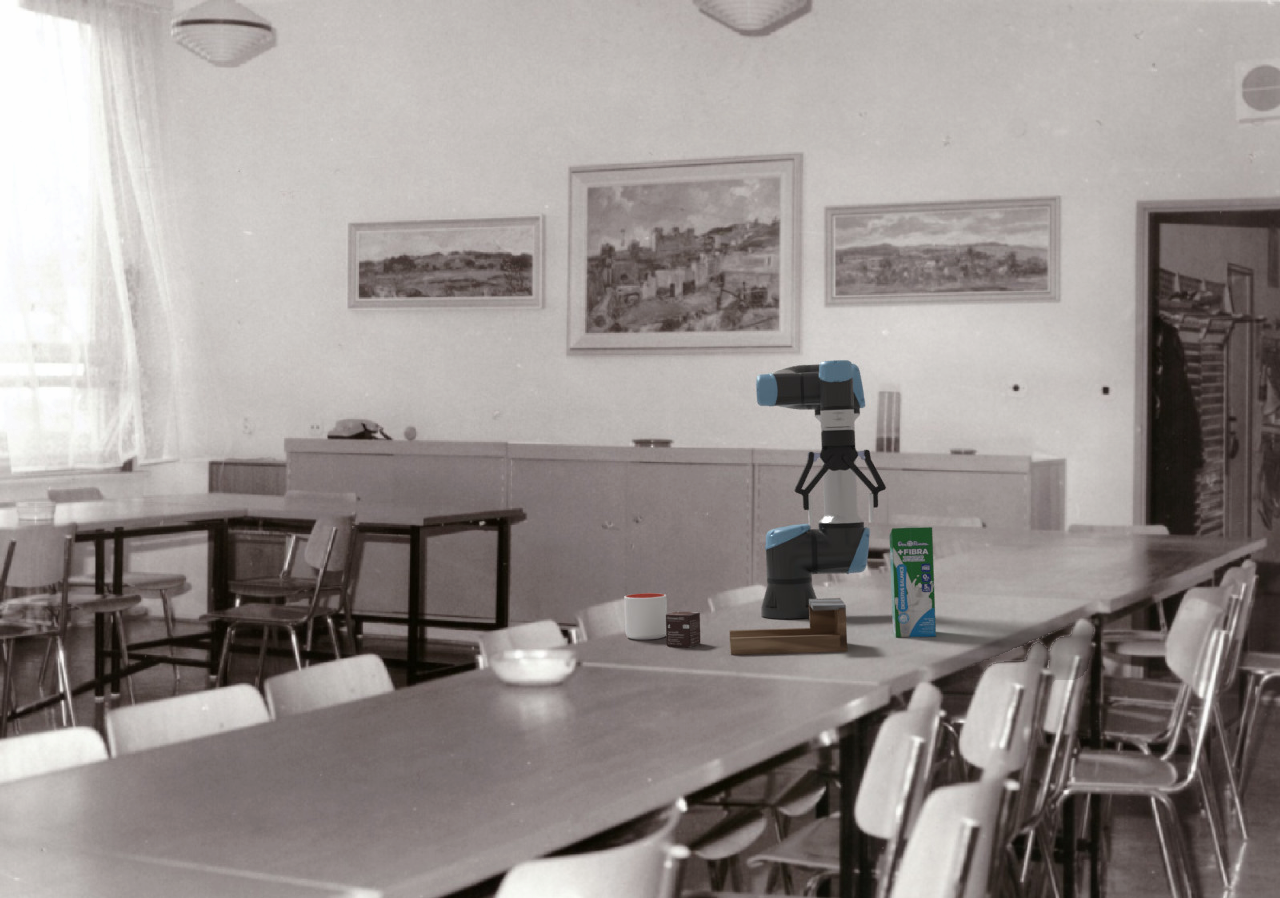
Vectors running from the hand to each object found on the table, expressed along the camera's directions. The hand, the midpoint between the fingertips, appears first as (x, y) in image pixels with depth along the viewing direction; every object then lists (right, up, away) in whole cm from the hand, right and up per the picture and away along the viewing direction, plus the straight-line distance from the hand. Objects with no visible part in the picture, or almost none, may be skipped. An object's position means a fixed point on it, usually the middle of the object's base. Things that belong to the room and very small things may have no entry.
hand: (841, 523), depth 324 cm
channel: (-13, -27, -6) cm, 31 cm away
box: (-35, -28, +5) cm, 45 cm away
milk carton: (+18, -26, +8) cm, 33 cm away
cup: (-44, -28, +19) cm, 55 cm away
